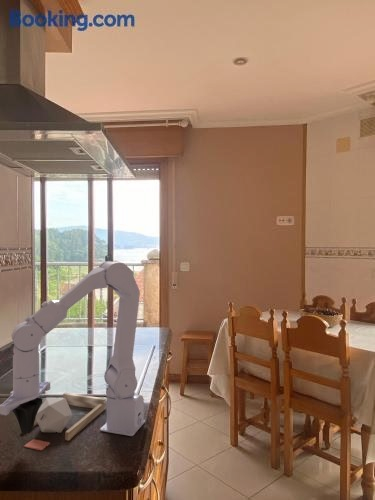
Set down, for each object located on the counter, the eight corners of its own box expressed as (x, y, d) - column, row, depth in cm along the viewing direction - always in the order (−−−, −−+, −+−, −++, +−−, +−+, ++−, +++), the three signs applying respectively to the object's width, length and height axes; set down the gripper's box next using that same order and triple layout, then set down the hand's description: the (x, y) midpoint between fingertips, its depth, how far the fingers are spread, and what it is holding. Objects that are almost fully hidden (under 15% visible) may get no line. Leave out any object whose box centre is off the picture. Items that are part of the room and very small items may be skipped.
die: (36, 427, 96) (24, 408, 90) (62, 402, 101) (53, 384, 95) (54, 446, 91) (43, 429, 86) (80, 420, 97) (72, 402, 91)
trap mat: (50, 443, 86) (50, 442, 86) (41, 450, 84) (41, 449, 84) (33, 440, 88) (33, 439, 88) (24, 446, 85) (24, 445, 85)
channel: (105, 408, 105) (105, 398, 105) (68, 440, 88) (68, 428, 88) (65, 402, 109) (65, 392, 109) (22, 431, 92) (22, 420, 92)
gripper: (34, 362, 92) (34, 414, 92) (-13, 383, 78) (-13, 445, 78) (57, 365, 90) (57, 418, 90) (13, 387, 76) (14, 450, 76)
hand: (26, 431), depth 84 cm, fingers closed
